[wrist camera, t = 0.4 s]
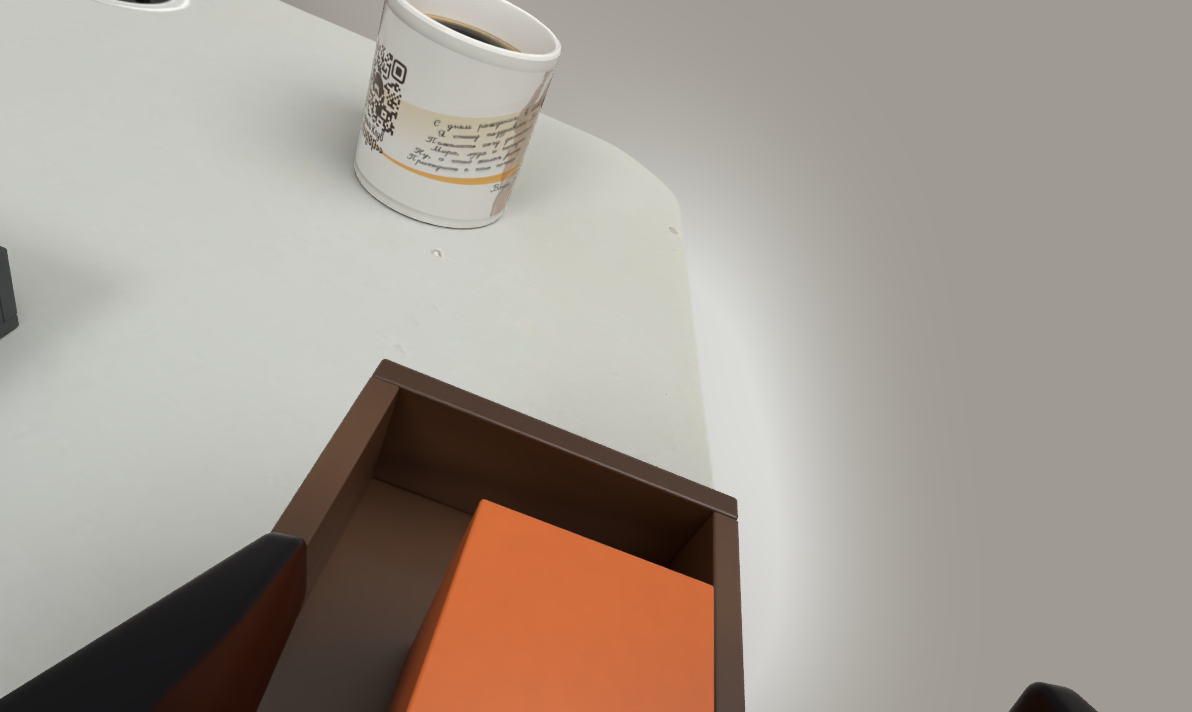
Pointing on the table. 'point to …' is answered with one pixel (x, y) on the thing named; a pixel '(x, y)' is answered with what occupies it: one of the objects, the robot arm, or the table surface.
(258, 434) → the table surface
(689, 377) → the table surface
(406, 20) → the mug
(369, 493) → the box
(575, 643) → the block
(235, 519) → the table surface
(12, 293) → the tub
